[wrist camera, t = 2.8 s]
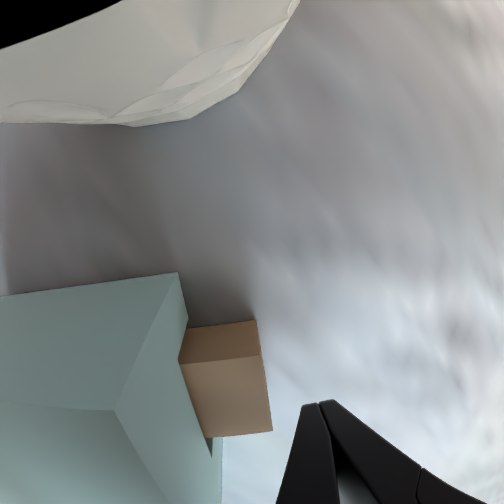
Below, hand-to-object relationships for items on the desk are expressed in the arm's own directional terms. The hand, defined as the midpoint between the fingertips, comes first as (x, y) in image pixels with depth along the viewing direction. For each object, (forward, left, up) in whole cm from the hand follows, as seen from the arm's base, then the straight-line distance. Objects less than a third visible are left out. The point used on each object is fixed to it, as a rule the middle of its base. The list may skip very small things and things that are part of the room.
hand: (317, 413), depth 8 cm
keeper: (0, +7, -3) cm, 7 cm away
